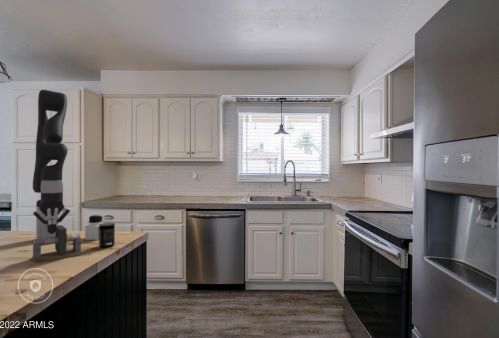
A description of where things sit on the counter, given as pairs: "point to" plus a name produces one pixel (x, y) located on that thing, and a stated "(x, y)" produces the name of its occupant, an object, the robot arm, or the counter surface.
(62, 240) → the collar
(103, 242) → the supplement container
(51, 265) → the counter surface
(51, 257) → the pipe stand
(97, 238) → the medicine bottle
